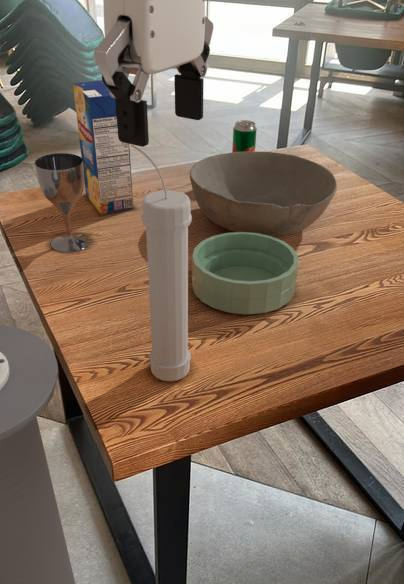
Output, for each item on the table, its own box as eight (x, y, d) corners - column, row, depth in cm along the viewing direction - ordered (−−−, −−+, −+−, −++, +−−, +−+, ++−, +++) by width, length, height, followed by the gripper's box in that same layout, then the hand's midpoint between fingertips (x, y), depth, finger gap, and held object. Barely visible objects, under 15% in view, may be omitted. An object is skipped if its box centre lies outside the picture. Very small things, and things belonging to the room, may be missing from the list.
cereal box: (101, 214, 115) (89, 97, 101) (85, 194, 122) (72, 83, 108) (133, 209, 117) (126, 93, 103) (116, 189, 125) (107, 79, 111)
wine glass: (63, 229, 109) (51, 150, 100) (100, 237, 107) (91, 157, 97) (39, 248, 103) (24, 165, 94) (78, 256, 101) (66, 173, 92)
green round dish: (224, 328, 85) (226, 294, 81) (175, 277, 96) (174, 244, 92) (314, 300, 91) (320, 267, 87) (258, 255, 102) (260, 224, 99)
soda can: (241, 183, 128) (245, 128, 121) (226, 176, 131) (228, 122, 124) (257, 178, 131) (261, 123, 123) (242, 171, 134) (245, 118, 126)
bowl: (190, 255, 102) (190, 202, 96) (188, 193, 124) (188, 146, 117) (342, 255, 103) (353, 202, 97) (314, 193, 125) (321, 147, 118)
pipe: (190, 383, 75) (191, 154, 56) (142, 383, 75) (128, 153, 56) (191, 357, 79) (192, 136, 61) (145, 356, 79) (133, 135, 61)
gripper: (176, -88, 54) (178, 104, 65) (47, -86, 42) (76, 147, 53) (246, -86, 51) (237, 114, 62) (128, -83, 39) (142, 163, 50)
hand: (162, 129), depth 57 cm, fingers open, 9 cm apart
